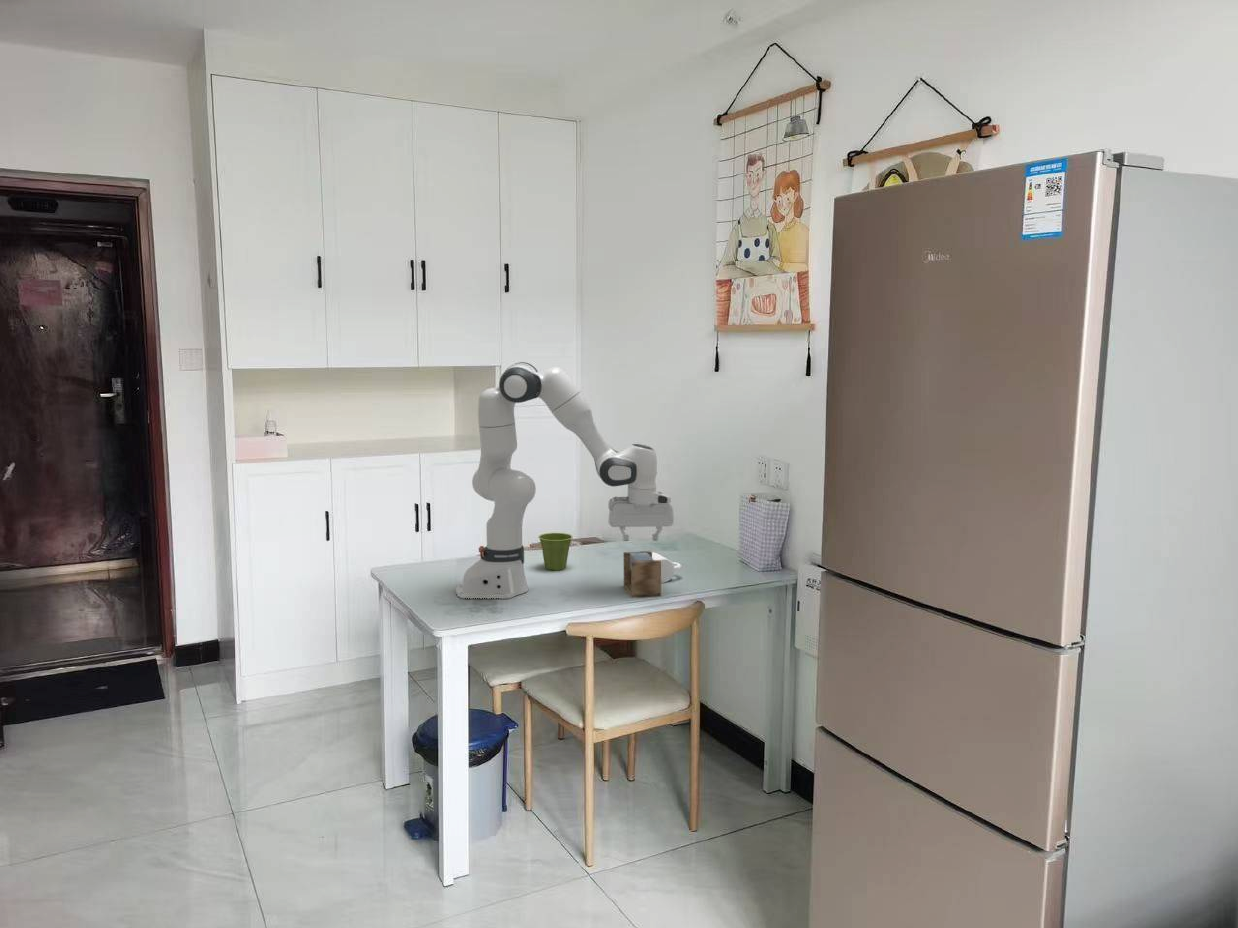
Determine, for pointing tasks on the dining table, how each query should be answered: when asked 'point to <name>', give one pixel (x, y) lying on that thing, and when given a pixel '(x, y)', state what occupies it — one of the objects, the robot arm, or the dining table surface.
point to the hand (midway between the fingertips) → (640, 540)
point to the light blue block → (639, 557)
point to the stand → (642, 576)
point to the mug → (666, 567)
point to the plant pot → (555, 549)
